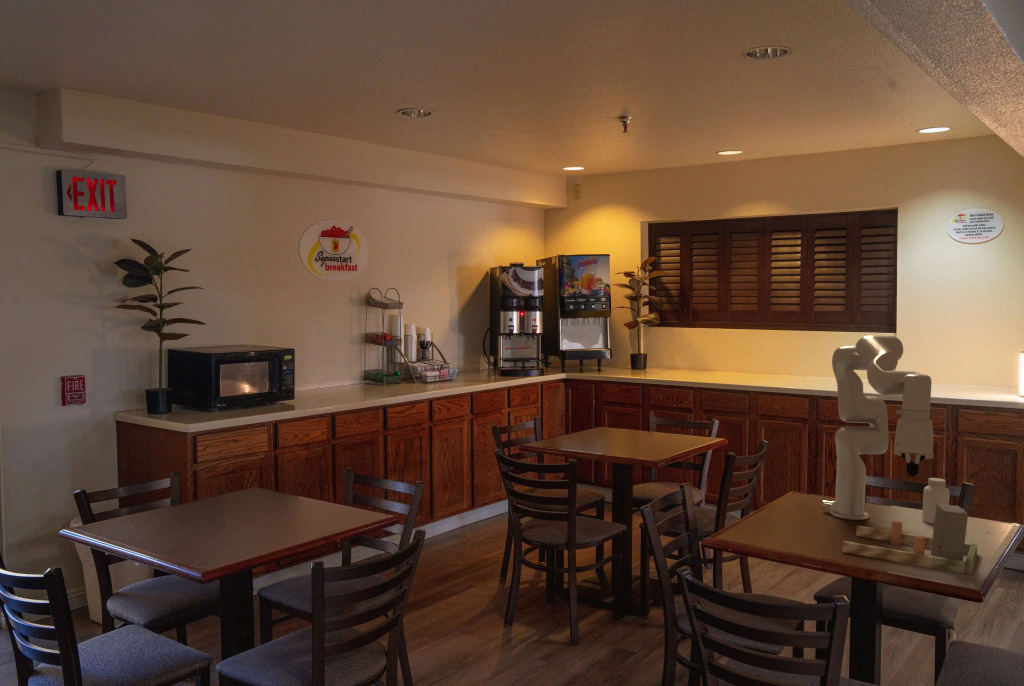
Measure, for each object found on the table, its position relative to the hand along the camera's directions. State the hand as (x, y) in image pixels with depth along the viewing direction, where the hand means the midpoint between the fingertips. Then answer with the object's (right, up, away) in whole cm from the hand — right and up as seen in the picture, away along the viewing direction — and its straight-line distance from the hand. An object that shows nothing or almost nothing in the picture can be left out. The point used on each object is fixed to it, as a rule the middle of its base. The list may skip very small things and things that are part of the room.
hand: (912, 475), depth 241 cm
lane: (-2, -23, 0) cm, 23 cm away
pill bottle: (+26, -22, +36) cm, 50 cm away
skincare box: (+7, -24, -7) cm, 26 cm away
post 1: (-1, -23, +8) cm, 24 cm away
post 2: (-3, -23, -9) cm, 25 cm away
